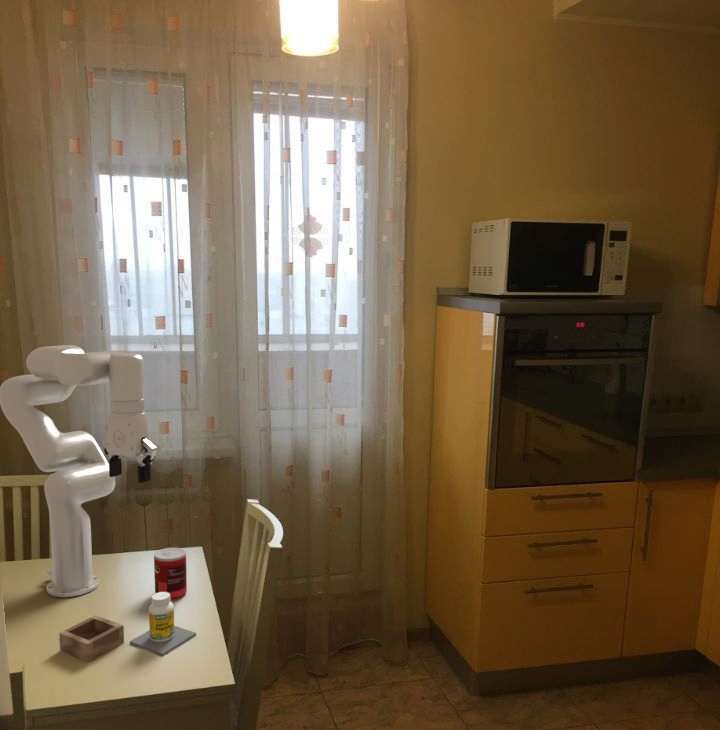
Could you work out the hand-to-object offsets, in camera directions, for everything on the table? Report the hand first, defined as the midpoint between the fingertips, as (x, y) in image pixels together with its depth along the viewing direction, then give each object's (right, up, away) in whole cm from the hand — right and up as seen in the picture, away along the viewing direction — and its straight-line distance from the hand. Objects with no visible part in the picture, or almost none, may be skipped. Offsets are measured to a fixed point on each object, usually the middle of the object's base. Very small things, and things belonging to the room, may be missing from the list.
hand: (129, 478), depth 155 cm
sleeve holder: (-4, -35, -11) cm, 37 cm away
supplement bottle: (+10, -34, -8) cm, 36 cm away
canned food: (+6, -32, +14) cm, 36 cm away
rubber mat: (+10, -34, -8) cm, 37 cm away
